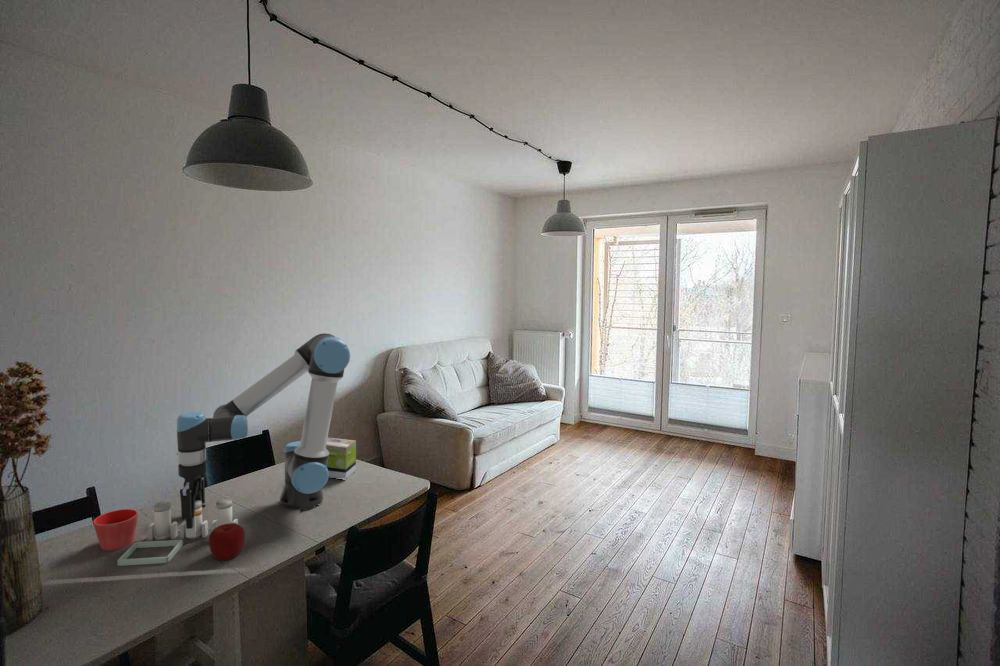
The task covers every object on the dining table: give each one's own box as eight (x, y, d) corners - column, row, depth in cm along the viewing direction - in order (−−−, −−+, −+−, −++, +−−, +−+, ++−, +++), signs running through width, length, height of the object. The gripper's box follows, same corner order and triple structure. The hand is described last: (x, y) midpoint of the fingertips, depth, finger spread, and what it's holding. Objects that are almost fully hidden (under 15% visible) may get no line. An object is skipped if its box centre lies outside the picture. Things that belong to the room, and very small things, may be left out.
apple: (221, 548, 159) (220, 517, 158) (251, 549, 159) (250, 519, 157) (202, 565, 149) (201, 532, 148) (234, 567, 149) (234, 534, 148)
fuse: (174, 533, 164) (173, 500, 163) (168, 540, 160) (166, 507, 159) (158, 534, 164) (157, 501, 162) (152, 541, 159) (150, 507, 158)
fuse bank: (243, 530, 170) (243, 514, 169) (236, 543, 162) (235, 526, 161) (153, 535, 165) (153, 518, 164) (141, 548, 157) (140, 531, 156)
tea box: (312, 477, 215) (312, 443, 213) (324, 468, 225) (324, 436, 223) (345, 481, 213) (346, 446, 211) (356, 472, 223) (356, 439, 221)
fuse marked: (205, 532, 166) (204, 499, 165) (199, 539, 162) (198, 506, 160) (189, 532, 165) (188, 500, 164) (183, 540, 161) (182, 506, 159)
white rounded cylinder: (234, 530, 168) (234, 498, 166) (230, 537, 163) (229, 504, 162) (219, 531, 167) (219, 499, 166) (214, 538, 162) (214, 505, 161)
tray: (183, 547, 158) (183, 539, 158) (168, 565, 149) (168, 557, 148) (135, 550, 156) (135, 542, 156) (117, 569, 146) (117, 560, 146)
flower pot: (101, 541, 160) (99, 511, 159) (142, 535, 165) (141, 506, 164) (89, 558, 151) (87, 527, 150) (134, 552, 155) (133, 521, 154)
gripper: (190, 452, 169) (192, 520, 171) (166, 473, 151) (169, 547, 154) (215, 452, 170) (217, 519, 173) (194, 472, 153) (196, 546, 155)
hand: (194, 532), depth 163 cm, fingers closed on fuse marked, 4 cm apart
